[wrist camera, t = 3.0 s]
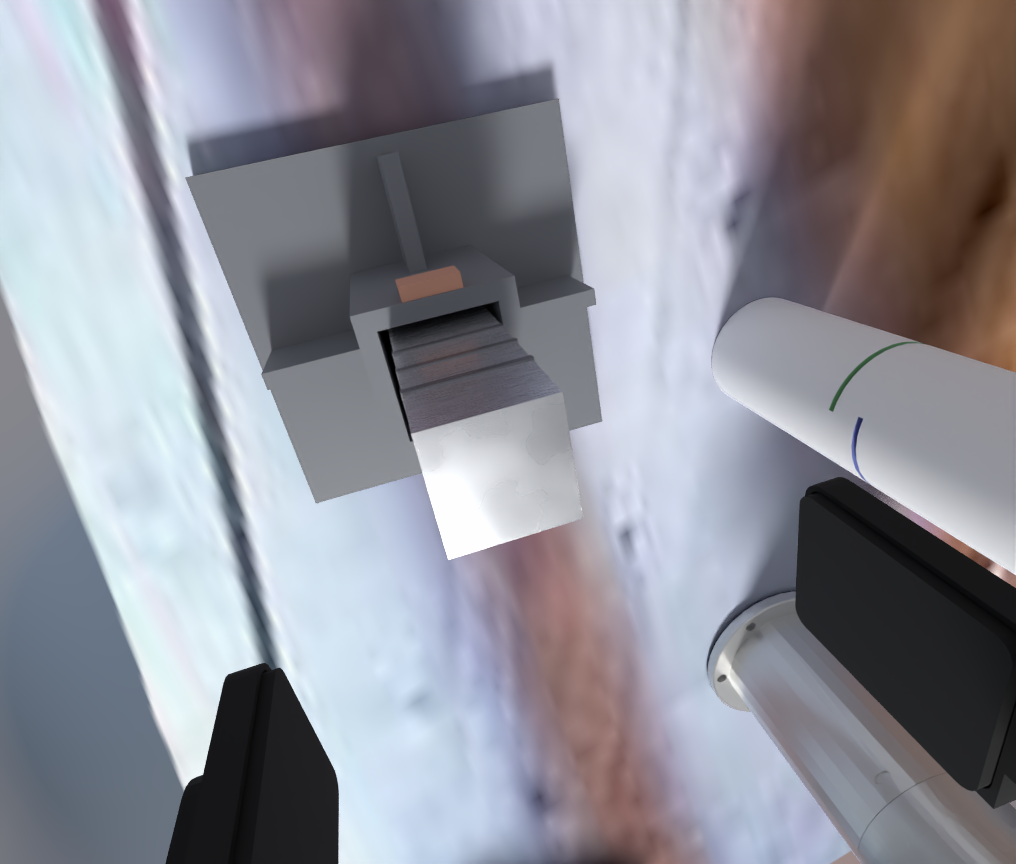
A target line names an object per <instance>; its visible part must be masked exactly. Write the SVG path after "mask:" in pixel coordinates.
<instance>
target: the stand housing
mask: <svg viewBox="0 0 1016 864" xmlns="http://www.w3.org/2000/svg"><path fill="white" fill-rule="evenodd" d="M186 181H187V183H188V186H189V188H190V191H191V193H192V196H193V198H194V200H195V203H196V205H197V208H198V210H199V213H200V215H201V218H202V220H203V223H204V225H205V228H206V230H207V233H208V235H209V238H210V240H211V243H212V245H213V248H214V250H215V253H216V255H217V258H218V260H219V263H220V265H221V268H222V270H223V273H224V275H225V278H226V280H227V283H228V285H229V288H230V290H231V293H232V295H233V298H234V300H235V303H236V305H237V308H238V310H239V313H240V315H241V318H242V320H243V323H244V325H245V328H246V330H247V333H248V335H249V338H250V340H251V343H252V345H253V347H254V350H255V352H256V355H257V357H258V360H259V362H260V365H261V367H262V370H263V372H262V374H261V375H262V377H263V379H264V382H265V384H266V387H267V389H268V390H271V392H272V395H273V397H274V400H275V402H276V405H277V407H278V410H279V412H280V415H281V417H282V420H283V422H284V425H285V427H286V430H287V432H288V435H289V437H290V440H291V442H292V445H293V447H294V450H295V452H296V455H297V457H298V460H299V462H300V465H301V467H302V470H303V472H304V475H305V477H306V480H307V482H308V485H309V487H310V490H311V492H312V494H313V497H314V499H315V502H316V503H319V502H322V501H326V500H329V499H333V498H336V497H340V496H343V495H347V494H350V493H354V492H357V491H361V490H364V489H368V488H371V487H375V486H378V485H381V484H385V483H388V482H392V481H395V480H399V479H402V478H406V477H409V476H413V475H416V474H420V473H422V469H421V466H420V463H419V459H418V456H417V452H416V449H415V446H414V442H413V439H412V436H411V432H410V427H409V423H408V418H407V415H406V411H405V408H404V404H403V401H402V398H401V394H400V390H401V388H400V385H399V381H398V378H397V375H396V371H395V369H396V366H395V363H394V359H393V356H392V352H393V349H392V345H391V340H390V336H389V331H388V329H390V328H394V327H398V326H401V325H405V324H409V323H413V322H417V321H421V320H425V319H429V318H433V317H437V316H441V315H445V314H449V313H453V312H457V311H461V310H465V309H469V308H472V307H476V306H480V305H484V307H485V308H486V309H487V310H488V311H489V312H490V313H491V314H492V315H493V316H494V317H495V319H496V320H497V321H498V322H499V323H500V324H501V323H503V324H504V327H505V329H506V331H507V332H508V333H509V334H510V335H511V336H512V337H513V338H517V339H518V343H519V345H520V346H521V347H522V348H523V349H524V350H525V351H526V352H527V353H528V355H532V356H533V357H534V359H535V362H536V363H537V364H538V365H539V367H540V368H541V369H542V370H543V371H544V372H545V373H546V374H547V375H548V376H549V377H550V379H551V380H552V381H553V382H554V383H555V384H556V385H557V386H558V387H559V388H560V389H561V391H562V392H563V397H564V403H565V409H566V415H567V421H568V427H569V431H570V430H573V429H577V428H580V427H584V426H587V425H591V424H594V423H598V422H601V421H602V417H601V409H600V402H599V394H598V387H597V380H596V372H595V365H594V357H593V350H592V343H591V335H590V328H589V321H588V313H587V307H589V306H593V305H596V299H595V291H594V289H593V288H591V287H590V286H588V285H586V284H584V283H583V276H582V269H581V261H580V254H579V247H578V239H577V232H576V224H575V217H574V210H573V202H572V195H571V187H570V180H569V173H568V165H567V158H566V150H565V143H564V136H563V128H562V121H561V113H560V106H559V99H554V100H550V101H545V102H540V103H535V104H531V105H526V106H521V107H517V108H512V109H507V110H502V111H498V112H493V113H488V114H483V115H479V116H474V117H469V118H465V119H460V120H455V121H450V122H446V123H441V124H436V125H432V126H427V127H422V128H417V129H413V130H408V131H403V132H398V133H394V134H389V135H384V136H380V137H375V138H370V139H365V140H361V141H356V142H351V143H346V144H342V145H337V146H332V147H328V148H323V149H318V150H313V151H309V152H304V153H299V154H294V155H290V156H285V157H280V158H276V159H271V160H266V161H261V162H257V163H252V164H247V165H242V166H238V167H233V168H228V169H224V170H219V171H214V172H209V173H205V174H200V175H195V176H190V177H186Z"/></svg>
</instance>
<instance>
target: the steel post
mask: <svg viewBox="0 0 1016 864" xmlns="http://www.w3.org/2000/svg"><path fill="white" fill-rule="evenodd" d="M388 331H389V336H390V340H391V345H392V349H393V352H392V356H393V359H394V363H395V366H396V369H395V371H396V375H397V378H398V381H399V385H400V388H401V390H400V394H401V398H402V401H403V404H404V408H405V411H406V415H407V418H408V423H409V427H410V432H411V436H412V439H413V442H414V446H415V449H416V452H417V456H418V459H419V463H420V466H421V469H422V473H423V476H424V479H425V483H426V486H427V489H428V493H429V496H430V499H431V503H432V506H433V510H434V513H435V516H436V520H437V523H438V526H439V530H440V533H441V536H442V540H443V543H444V546H445V550H446V553H447V557H448V560H449V559H453V558H456V557H459V556H462V555H466V554H469V553H472V552H475V551H479V550H482V549H485V548H488V547H492V546H495V545H498V544H501V543H505V542H508V541H511V540H514V539H518V538H521V537H524V536H527V535H531V534H534V533H537V532H540V531H544V530H547V529H550V528H553V527H557V526H560V525H563V524H566V523H570V522H573V521H576V520H580V519H583V513H582V506H581V500H580V494H579V488H578V482H577V476H576V470H575V464H574V458H573V452H572V446H571V439H570V433H569V427H568V421H567V415H566V409H565V403H564V397H563V392H562V391H561V389H560V388H559V387H558V386H557V385H556V384H555V383H554V382H553V381H552V380H551V379H550V377H549V376H548V375H547V374H546V373H545V372H544V371H543V370H542V369H541V368H540V367H539V365H538V364H537V363H536V362H535V359H534V357H533V356H532V355H528V353H527V352H526V351H525V350H524V349H523V348H522V347H521V346H520V345H519V343H518V339H517V338H513V337H512V336H511V335H510V334H509V333H508V332H507V331H506V329H505V327H504V324H503V323H501V324H500V323H499V322H498V321H497V320H496V319H495V317H494V316H493V315H492V314H491V313H490V312H489V311H488V310H487V309H486V308H485V307H484V305H480V306H476V307H472V308H469V309H465V310H461V311H457V312H453V313H449V314H445V315H441V316H437V317H433V318H429V319H425V320H421V321H417V322H413V323H409V324H405V325H401V326H398V327H394V328H390V329H388Z"/></svg>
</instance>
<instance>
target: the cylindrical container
mask: <svg viewBox="0 0 1016 864" xmlns="http://www.w3.org/2000/svg"><path fill="white" fill-rule="evenodd" d="M712 372H713V377H714V379H715V381H716V384H717V385H718V387H719V388H720V389H721V390H722V392H724V393H725V394H726V395H728V396H729V397H730V398H732V399H734V400H735V401H737V402H739V403H740V404H742V405H743V406H745V407H747V408H748V409H750V410H751V411H753V412H755V413H756V414H758V415H759V416H761V417H763V418H764V419H766V420H768V421H769V422H771V423H772V424H774V425H776V426H777V427H779V428H780V429H782V430H784V431H785V432H787V433H788V434H790V435H792V436H793V437H795V438H796V439H798V440H800V441H801V442H803V443H804V444H806V445H808V446H809V447H811V448H812V449H814V450H816V451H817V452H819V453H820V454H822V455H824V456H825V457H827V458H828V459H830V460H832V461H833V462H835V463H837V464H838V465H840V466H841V467H843V468H845V469H846V470H848V471H849V472H851V473H853V474H854V475H856V476H857V477H859V478H861V479H862V480H864V481H865V482H867V483H869V484H871V485H872V486H873V487H875V488H877V489H878V490H880V491H881V492H883V493H885V494H886V495H888V496H889V497H891V498H893V499H894V500H896V501H897V502H899V503H901V504H902V505H904V506H906V507H907V508H909V509H910V510H912V511H914V512H915V513H917V514H918V515H920V516H922V517H923V518H925V519H926V520H928V521H930V522H931V523H933V524H934V525H936V526H938V527H939V528H941V529H943V530H944V531H946V532H947V533H949V534H951V535H952V536H954V537H955V538H957V539H959V540H960V541H962V542H963V543H965V544H967V545H968V546H970V547H971V548H973V549H975V550H976V551H978V552H980V553H981V554H983V555H984V556H986V557H988V558H989V559H991V560H992V561H994V562H996V563H997V564H999V565H1000V566H1002V567H1004V568H1005V569H1007V570H1008V571H1010V572H1012V573H1013V574H1015V575H1016V373H1015V372H1012V371H1009V370H1005V369H1002V368H999V367H996V366H993V365H990V364H987V363H983V362H980V361H977V360H974V359H971V358H968V357H965V356H961V355H958V354H955V353H952V352H949V351H946V350H943V349H939V348H936V347H933V346H930V345H926V344H924V343H921V342H917V341H914V340H911V339H908V338H905V337H902V336H899V335H895V334H892V333H889V332H886V331H883V330H880V329H877V328H873V327H870V326H867V325H864V324H861V323H858V322H855V321H851V320H848V319H845V318H842V317H839V316H836V315H833V314H829V313H826V312H823V311H820V310H817V309H814V308H811V307H807V306H804V305H801V304H798V303H795V302H792V301H789V300H785V299H781V298H777V297H767V298H762V299H758V300H756V301H753V302H751V303H748V304H747V305H745V306H744V307H742V308H741V309H739V310H738V311H737V312H736V313H735V314H734V315H733V316H731V317H730V318H729V320H728V321H727V322H726V324H725V325H724V326H723V327H722V329H721V331H720V333H719V335H718V337H717V339H716V342H715V345H714V347H713V353H712Z"/></svg>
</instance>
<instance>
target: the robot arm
mask: <svg viewBox="0 0 1016 864" xmlns="http://www.w3.org/2000/svg"><path fill="white" fill-rule="evenodd" d="M708 678H709V682H710V685H711V687H712V688H713V690H714V692H715V693H716V695H717V696H718V697H719V699H720V700H721V701H722V702H723V703H724V704H726V705H727V706H729V707H730V708H733V709H736V710H739V711H746V712H751V713H752V714H753V715H754V717H755V718H756V719H757V721H758V722H759V724H760V725H761V726H762V728H763V729H764V730H765V732H766V733H767V735H768V736H769V737H770V739H771V740H772V742H773V743H774V744H775V746H776V747H777V748H778V750H779V751H780V753H781V754H782V755H783V757H784V758H785V759H786V761H787V762H788V764H789V765H790V766H791V768H792V769H793V770H794V772H795V773H796V775H797V776H798V777H799V779H800V780H801V781H802V783H803V784H804V786H805V787H806V788H807V790H808V791H809V792H810V794H811V795H812V797H813V798H814V799H815V801H816V802H817V804H818V805H819V806H820V808H821V809H822V810H823V812H824V813H825V815H826V816H827V817H828V819H829V820H830V821H831V823H832V824H833V826H834V827H835V828H836V830H837V831H838V832H839V834H840V835H841V837H842V838H843V839H844V841H845V842H846V843H847V845H848V846H849V848H850V849H851V850H852V852H853V853H854V854H855V856H856V857H857V859H858V860H859V861H860V863H861V864H1016V809H1015V808H1014V807H1013V806H1012V805H1011V804H1010V803H1009V802H1012V801H1014V800H1016V588H1015V587H1013V586H1011V585H1010V584H1008V583H1007V582H1005V581H1004V580H1002V579H1001V578H999V577H998V576H996V575H994V574H993V573H991V572H990V571H988V570H987V569H985V568H984V567H982V566H981V565H979V564H977V563H976V562H974V561H973V560H971V559H970V558H968V557H967V556H965V555H964V554H962V553H960V552H959V551H957V550H956V549H954V548H953V547H951V546H950V545H948V544H947V543H945V542H944V541H942V540H940V539H939V538H937V537H936V536H934V535H933V534H931V533H930V532H928V531H927V530H925V529H923V528H922V527H920V526H919V525H917V524H916V523H914V522H913V521H911V520H910V519H908V518H906V517H905V516H903V515H902V514H900V513H899V512H897V511H896V510H894V509H893V508H891V507H890V506H888V505H886V504H885V503H883V502H882V501H880V500H879V499H877V498H876V497H874V496H873V495H871V494H869V493H868V492H866V491H865V490H863V489H862V488H860V487H859V486H857V485H856V484H854V483H852V482H851V481H849V480H848V479H845V478H843V477H837V478H834V479H831V480H828V481H825V482H822V483H819V484H816V485H813V486H810V487H809V488H808V489H807V490H806V494H805V497H803V498H802V499H801V500H800V509H799V532H798V554H797V577H796V591H793V592H787V593H781V594H778V595H775V596H772V597H769V598H766V599H764V600H762V601H760V602H758V603H756V604H754V605H753V606H751V607H750V608H748V609H747V610H745V611H744V612H742V613H741V614H740V615H739V616H738V617H737V618H736V619H735V620H733V621H732V622H731V623H730V625H729V626H728V627H727V628H726V629H725V630H724V631H723V633H722V634H721V636H720V637H719V639H718V640H717V642H716V643H715V646H714V648H713V650H712V653H711V655H710V659H709V663H708ZM338 824H339V791H338V782H337V777H336V773H335V770H334V768H333V766H332V764H331V762H330V760H329V758H328V756H327V754H326V752H325V751H324V749H323V747H322V745H321V743H320V741H319V739H318V737H317V735H316V733H315V731H314V729H313V727H312V725H311V723H310V722H309V720H308V718H307V716H306V714H305V712H304V710H303V708H302V706H301V704H300V702H299V700H298V698H297V696H296V694H295V693H294V691H293V689H292V687H291V685H290V683H289V681H288V679H287V677H286V675H285V673H284V672H283V670H282V669H281V668H277V669H274V670H271V668H270V667H269V665H267V664H266V663H262V664H259V665H256V666H253V667H250V668H247V669H243V670H240V671H237V672H234V673H231V674H228V675H227V677H226V678H225V681H224V684H223V688H222V693H221V697H220V702H219V706H218V711H217V715H216V720H215V724H214V729H213V733H212V738H211V742H210V746H209V751H208V755H207V760H206V764H205V769H204V773H203V775H201V776H199V777H196V778H194V779H192V780H191V781H190V782H189V783H188V785H187V786H186V788H185V791H184V794H183V796H182V800H181V804H180V807H179V812H178V815H177V820H176V824H175V827H174V832H173V836H172V840H171V844H170V848H169V852H168V856H167V860H166V864H338Z"/></svg>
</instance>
